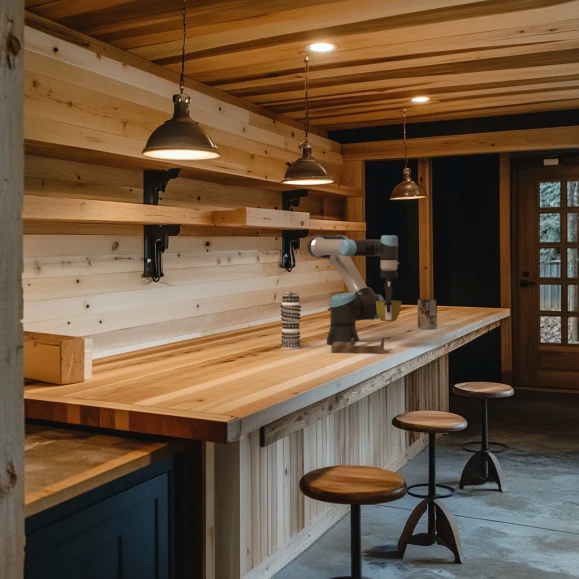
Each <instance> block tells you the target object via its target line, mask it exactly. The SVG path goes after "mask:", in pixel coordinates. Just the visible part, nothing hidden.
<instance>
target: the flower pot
mask: <svg viewBox="0 0 579 579" xmlns="http://www.w3.org/2000/svg"><path fill="white" fill-rule="evenodd" d="M391 302H392V304H391V305H392V316H391V320H385V305H384V303H386V299H384V300H382V301H376V309H377V314H378V316H379V320H380V321H382V322H390V323H392V322H395V321H397V319H398V318H399V315H400V313H401V308H402V307H401V306H402V300H393V299H392V300H391Z"/></svg>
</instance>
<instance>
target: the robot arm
mask: <svg viewBox="0 0 579 579" xmlns="http://www.w3.org/2000/svg"><path fill="white" fill-rule="evenodd" d="M398 239H399V238H398V236H397V235H393V234H391V235H386V234H385V235H384V234H383V235H381V237H380V239H349V237H347V236H346V235H341V234H336V235H333V234H330V235H326V234H317V235H314V236H312V237H310V238H309V239H308V240H307V241H306V245H305V247H306V252H307V254H309V256H311V257H313V258H315V259H328V260H329V263H330V264H331V265H333V266H335V268H336V270H337V271H338V273H339V275H340V277H341V279H342V281H343V283H344V285H345V286H346V288H347V290H348V292H341V293H336V294H333V295H332V296H331V297H330V304H329V305H330V306H329V308H330V328H329V329H328V330H329V331H328V333H327V337H326V344H327V345H329V346H332V344H333V342H350V341H351V339H352V337H354V342H360V338H359V334H358V331H357V328H356V327H357V326H356V322H357V321H370V320H371V321H374V320H380V318H379V316H378V314H377V309H376V301H382V300H386V303H384V305H385V320H391V316H392V305H391V304H392V302H391V300H393V299H392V293H393V291H394V290H393V288H394V282H393V281H392V280H396V279H398V265H399V264H400V262H398V257H399V256H398V255H399V240H398ZM351 257H380V269H381V270H380V279H384V280H385V282H383V283H384V285H383V286H384V292H385V299H384V297H383V296H382V294H378V293H377V294H376V293H375V292H374V290H373V288H371V287H368V286H367V285H366V283H365V281H364V279H363V277H362V275H361V274H360V271H359V270H358V268H357V267H356V265H355V263H354V260H352V258H351Z"/></svg>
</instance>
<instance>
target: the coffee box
mask: <svg viewBox="0 0 579 579" xmlns="http://www.w3.org/2000/svg"><path fill="white" fill-rule="evenodd" d="M417 329H421V330H437V329H438V299H431V298H428V299H427V298H420V299H417Z"/></svg>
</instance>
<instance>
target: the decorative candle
mask: <svg viewBox="0 0 579 579" xmlns="http://www.w3.org/2000/svg"><path fill="white" fill-rule="evenodd" d="M300 296H301V295H299V294H298V291H284V292H283V294H282V295H281V297H282V299H281V301H282V302H281V304H280V308H281V309H280V316H281V318H280V319H281V321H280V322H281V323H282V325H281V326H282V328H281V333H280V334H281V338H282V339H281V340H280V341H281V344H280V346H281V349H282V350H300V349H301V331H300V323H301V318H302V317H300V316H301V311H302V309H301V308H302V306H301V305H300V304H301V303H300Z"/></svg>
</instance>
